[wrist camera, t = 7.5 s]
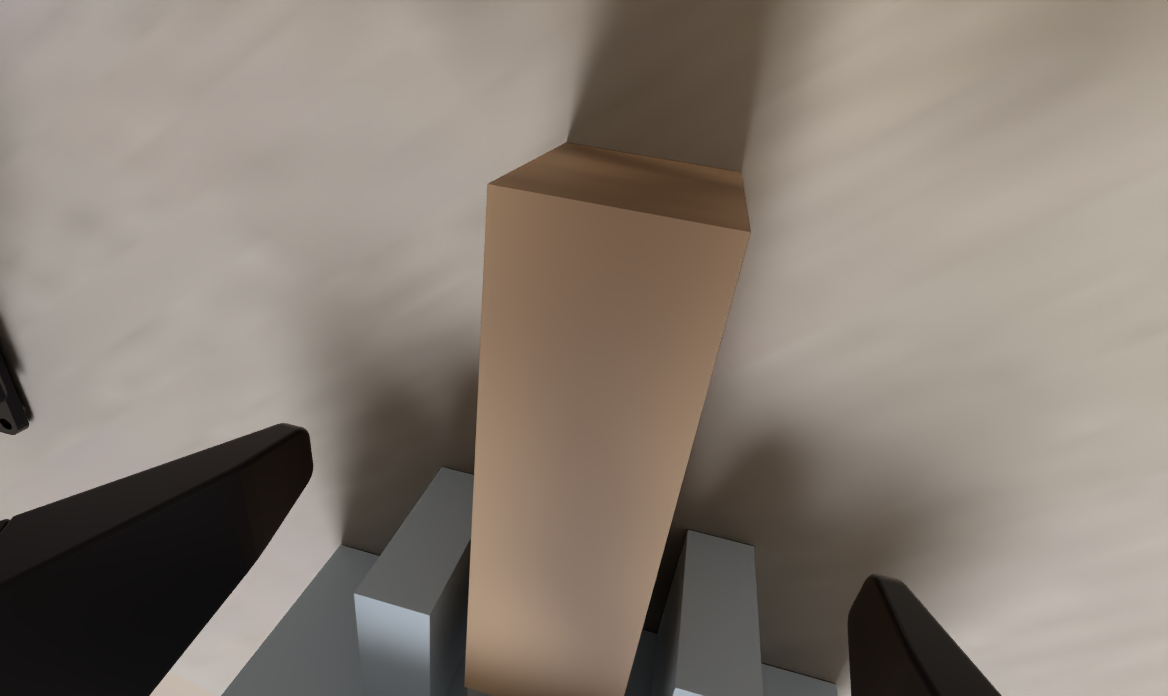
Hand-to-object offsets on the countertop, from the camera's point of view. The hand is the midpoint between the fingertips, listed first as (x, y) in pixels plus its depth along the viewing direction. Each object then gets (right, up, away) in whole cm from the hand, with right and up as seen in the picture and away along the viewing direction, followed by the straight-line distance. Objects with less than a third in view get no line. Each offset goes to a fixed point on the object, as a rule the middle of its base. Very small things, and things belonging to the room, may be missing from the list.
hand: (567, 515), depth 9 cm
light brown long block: (+1, +1, +7) cm, 7 cm away
